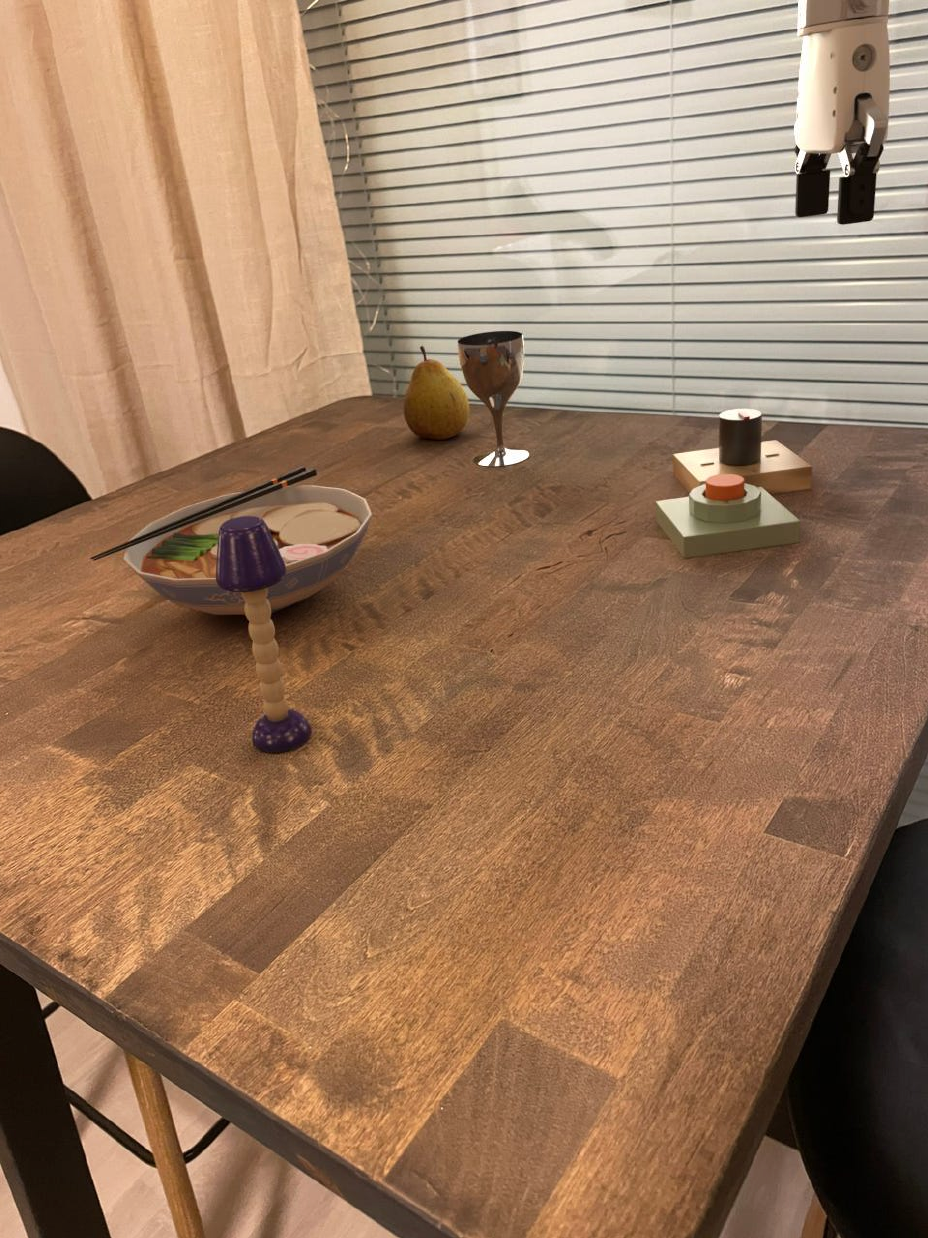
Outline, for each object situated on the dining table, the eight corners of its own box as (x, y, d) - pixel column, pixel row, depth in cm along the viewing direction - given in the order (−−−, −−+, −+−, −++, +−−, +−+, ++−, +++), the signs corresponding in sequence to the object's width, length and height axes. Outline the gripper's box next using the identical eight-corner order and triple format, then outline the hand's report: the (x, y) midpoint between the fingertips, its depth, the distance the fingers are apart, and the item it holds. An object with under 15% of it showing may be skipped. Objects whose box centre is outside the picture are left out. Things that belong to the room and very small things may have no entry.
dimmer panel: (775, 460, 111) (776, 438, 110) (811, 488, 102) (812, 464, 101) (672, 474, 111) (672, 452, 110) (699, 504, 102) (699, 480, 101)
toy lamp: (297, 711, 73) (252, 504, 66) (332, 733, 70) (288, 518, 63) (242, 739, 71) (188, 527, 63) (275, 763, 68) (223, 542, 60)
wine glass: (529, 465, 120) (519, 342, 113) (466, 469, 121) (452, 347, 114) (535, 445, 127) (526, 328, 120) (475, 449, 128) (462, 333, 121)
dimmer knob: (713, 455, 107) (713, 408, 105) (753, 450, 107) (754, 403, 105) (725, 467, 104) (726, 419, 101) (766, 462, 104) (768, 414, 101)
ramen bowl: (221, 690, 78) (197, 599, 74) (89, 621, 93) (63, 542, 89) (441, 576, 93) (430, 495, 89) (297, 532, 108) (282, 461, 104)
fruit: (464, 443, 131) (453, 353, 126) (400, 445, 134) (387, 357, 128) (478, 424, 139) (469, 339, 133) (417, 427, 141) (406, 343, 136)
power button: (736, 488, 95) (737, 471, 94) (749, 500, 92) (750, 483, 91) (700, 493, 95) (700, 476, 94) (712, 505, 92) (712, 488, 91)
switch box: (761, 506, 99) (762, 469, 98) (799, 542, 91) (801, 502, 89) (655, 521, 99) (654, 484, 97) (683, 558, 90) (683, 518, 88)
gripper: (935, -8, 78) (915, 220, 86) (841, 17, 94) (832, 208, 101) (844, 4, 78) (832, 231, 86) (765, 26, 93) (761, 217, 101)
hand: (832, 218), depth 93 cm, fingers open, 9 cm apart
